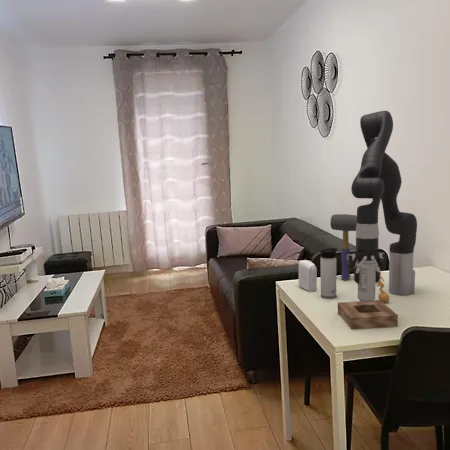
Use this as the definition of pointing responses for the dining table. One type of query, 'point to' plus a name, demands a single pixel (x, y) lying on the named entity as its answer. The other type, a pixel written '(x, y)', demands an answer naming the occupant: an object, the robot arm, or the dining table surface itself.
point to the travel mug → (328, 273)
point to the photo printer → (307, 275)
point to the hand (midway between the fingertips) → (366, 282)
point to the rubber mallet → (344, 237)
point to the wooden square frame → (367, 314)
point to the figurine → (383, 295)
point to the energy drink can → (367, 281)
